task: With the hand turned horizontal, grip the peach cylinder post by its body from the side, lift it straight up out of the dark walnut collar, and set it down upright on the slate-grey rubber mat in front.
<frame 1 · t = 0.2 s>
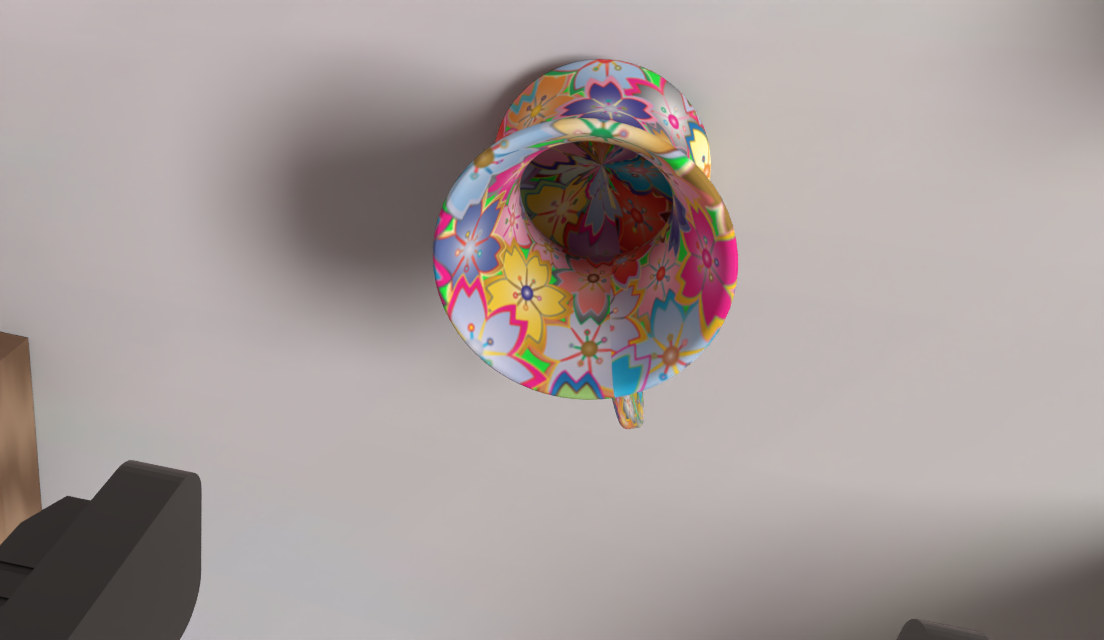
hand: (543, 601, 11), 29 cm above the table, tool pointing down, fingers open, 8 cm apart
mug: (609, 191, 40), on the table
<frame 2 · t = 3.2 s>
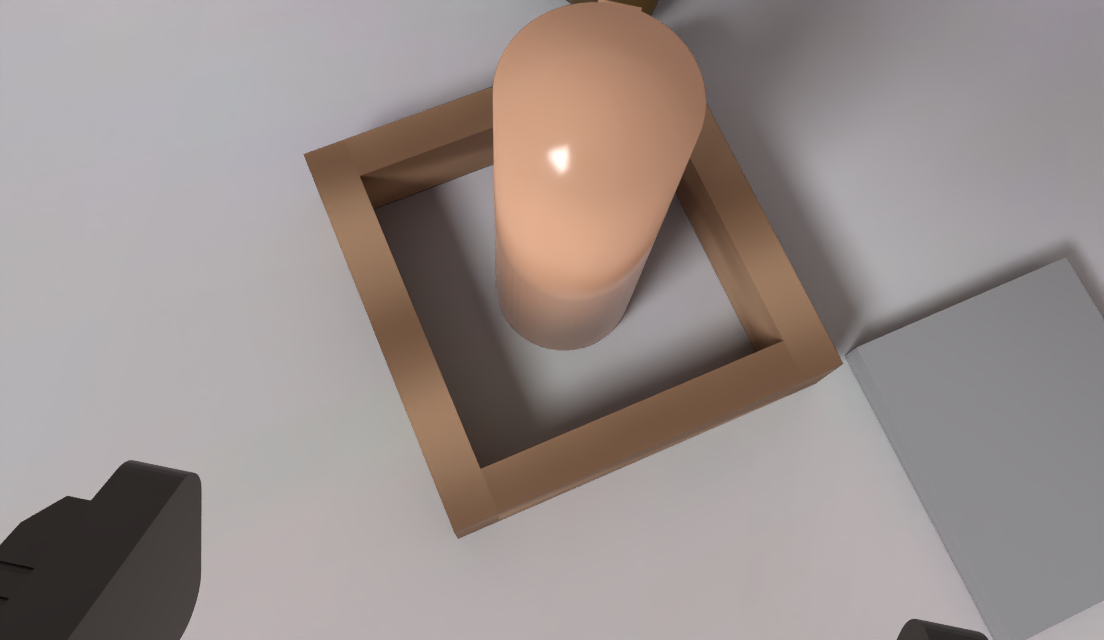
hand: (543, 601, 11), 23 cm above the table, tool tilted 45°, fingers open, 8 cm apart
slate mat: (1024, 445, 35), on the table
walnut collar: (563, 285, 36), on the table
peach cylinder post: (563, 285, 36), resting in walnut collar
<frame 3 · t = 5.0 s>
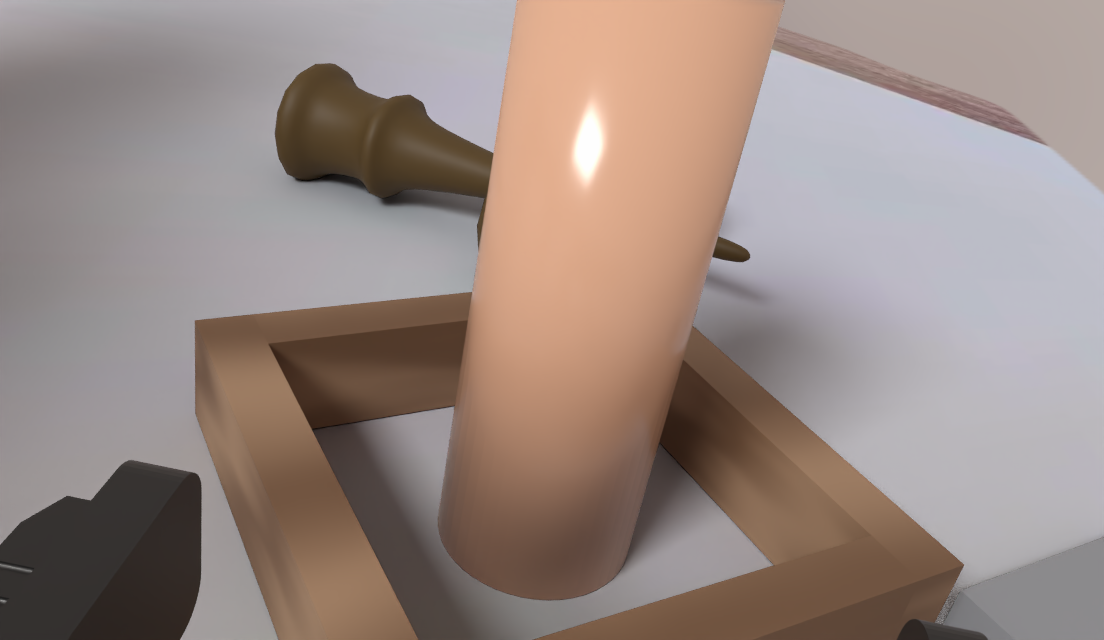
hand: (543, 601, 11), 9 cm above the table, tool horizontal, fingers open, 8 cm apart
walnut collar: (533, 526, 25), on the table
peach cylinder post: (533, 527, 25), resting in walnut collar
kendama: (498, 248, 40), on the table
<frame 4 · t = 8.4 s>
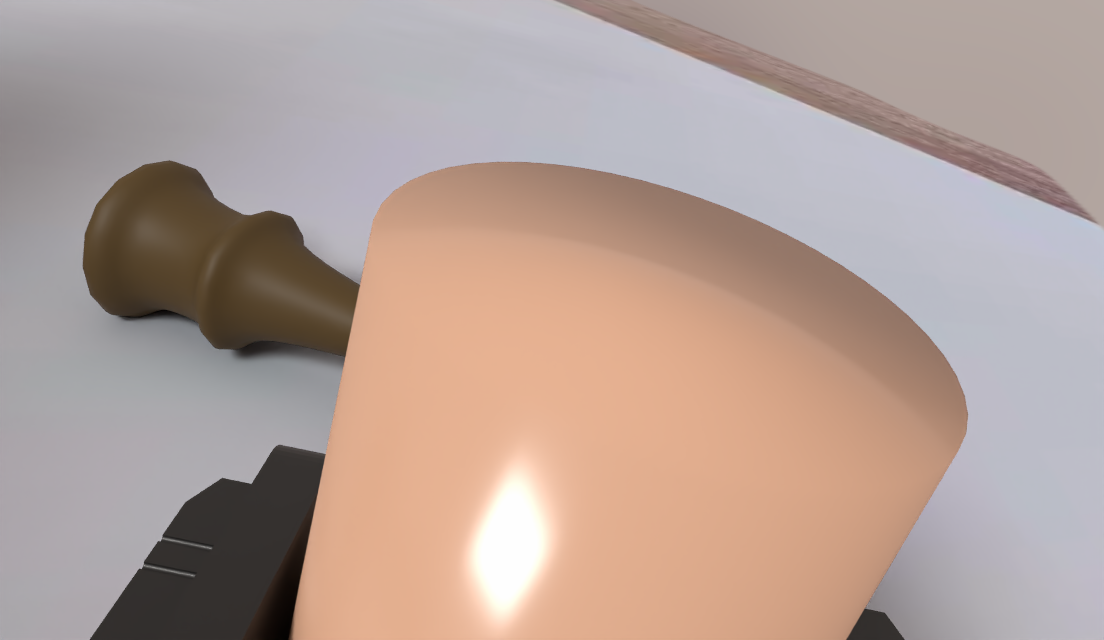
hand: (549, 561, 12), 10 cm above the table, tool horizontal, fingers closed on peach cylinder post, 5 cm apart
kendama: (390, 425, 29), on the table
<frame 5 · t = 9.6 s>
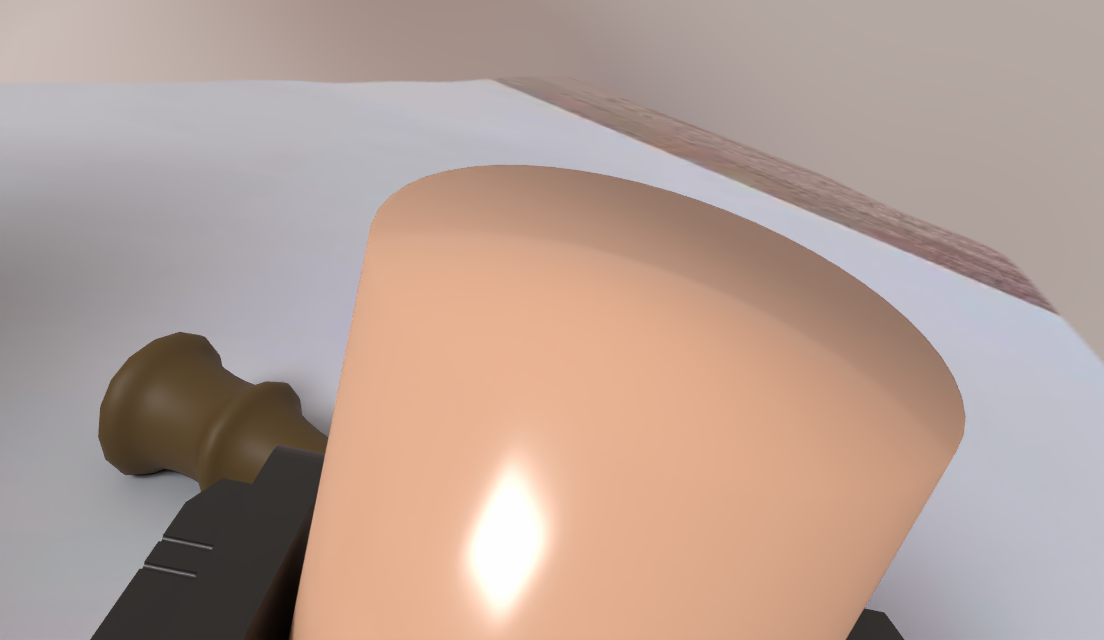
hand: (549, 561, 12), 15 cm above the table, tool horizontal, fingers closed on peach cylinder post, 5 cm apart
kendama: (377, 580, 32), on the table
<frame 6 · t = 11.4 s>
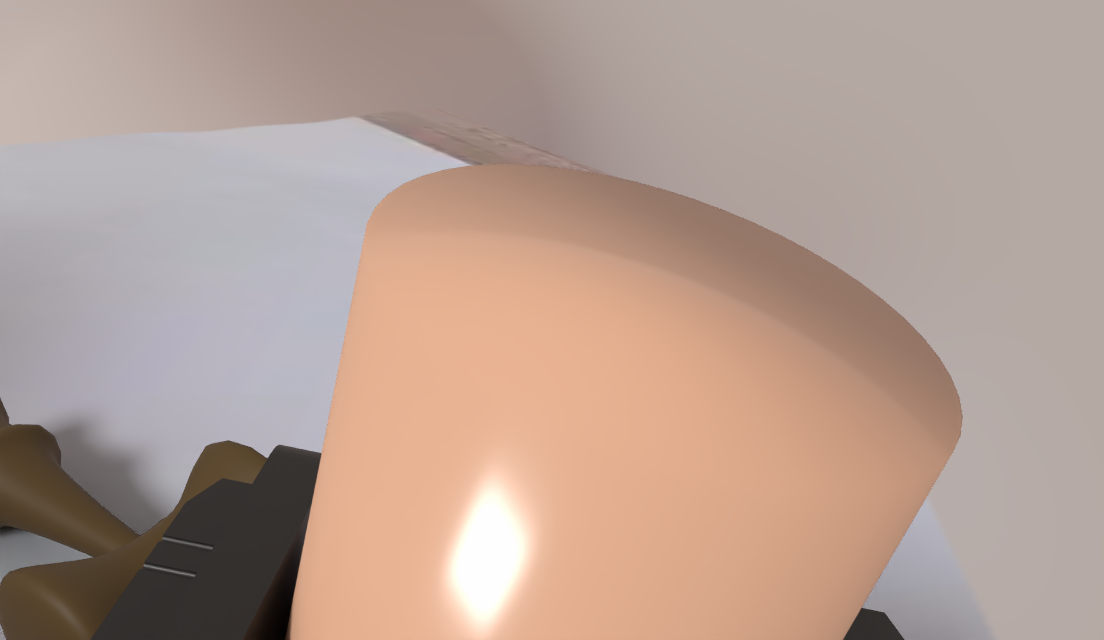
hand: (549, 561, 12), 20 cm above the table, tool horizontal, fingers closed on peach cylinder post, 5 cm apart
kendama: (102, 591, 38), on the table
when the fingers open (11 cm above the table, at t = 14.5 s): peach cylinder post stays where it is, resting on slate mat.
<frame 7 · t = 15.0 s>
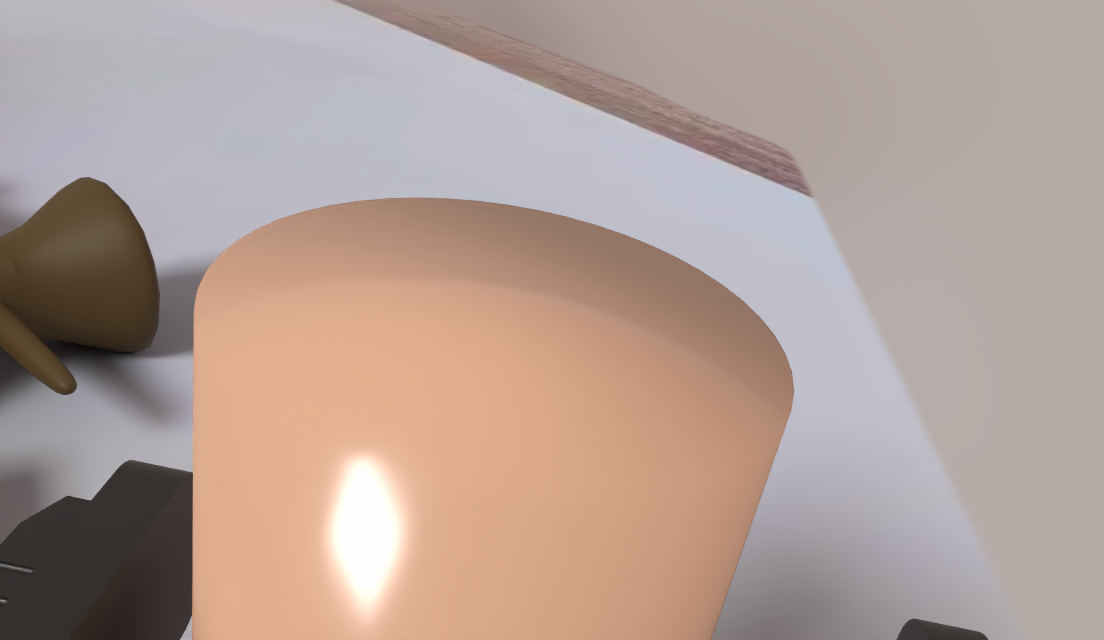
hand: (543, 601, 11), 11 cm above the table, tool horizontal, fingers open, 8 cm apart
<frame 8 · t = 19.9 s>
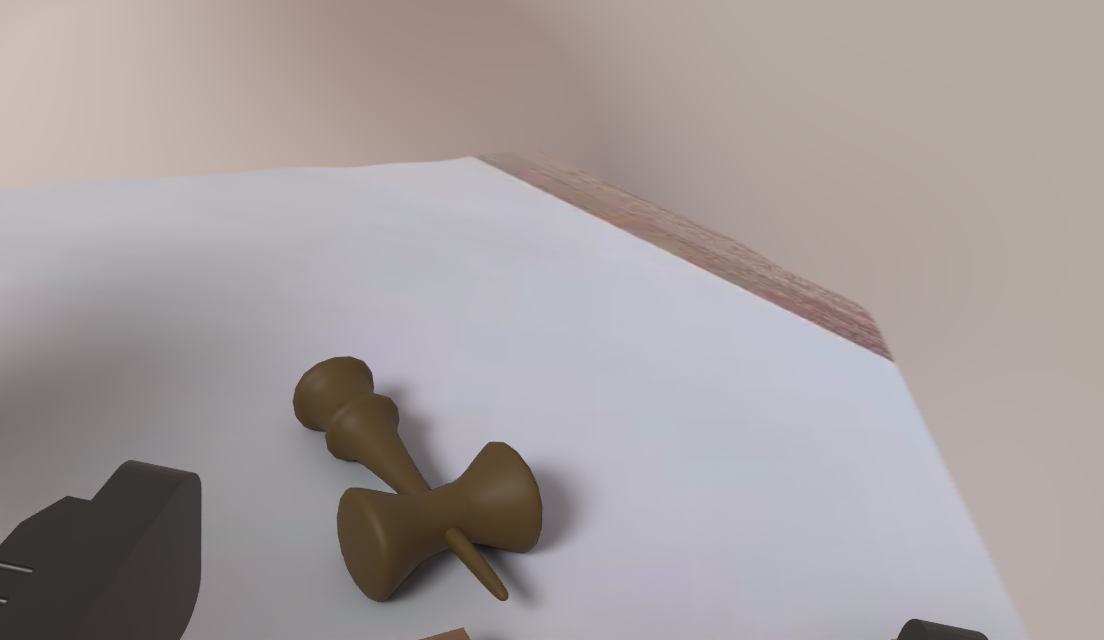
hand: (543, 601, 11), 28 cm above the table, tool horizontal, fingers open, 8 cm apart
kendama: (400, 522, 54), on the table
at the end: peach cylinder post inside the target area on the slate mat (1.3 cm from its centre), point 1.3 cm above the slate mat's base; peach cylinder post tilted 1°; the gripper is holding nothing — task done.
